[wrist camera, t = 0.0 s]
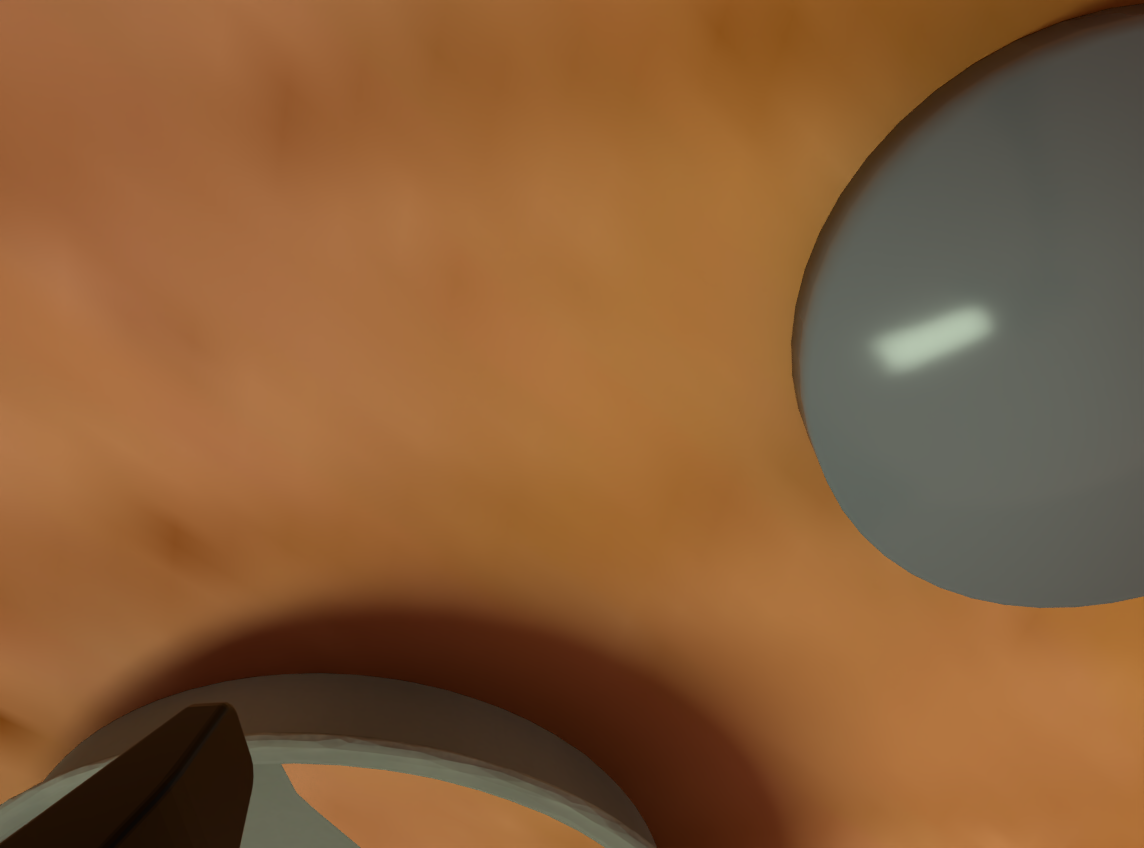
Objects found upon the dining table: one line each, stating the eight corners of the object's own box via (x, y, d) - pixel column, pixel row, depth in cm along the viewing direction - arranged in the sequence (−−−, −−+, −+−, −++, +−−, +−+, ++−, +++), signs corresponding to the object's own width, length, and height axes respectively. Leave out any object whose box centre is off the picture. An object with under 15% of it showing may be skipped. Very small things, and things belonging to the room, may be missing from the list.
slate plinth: (804, 29, 21) (827, 49, 19) (1511, -26, 21) (1599, -11, 19) (781, 575, 28) (796, 625, 26) (1306, 539, 28) (1356, 588, 26)
